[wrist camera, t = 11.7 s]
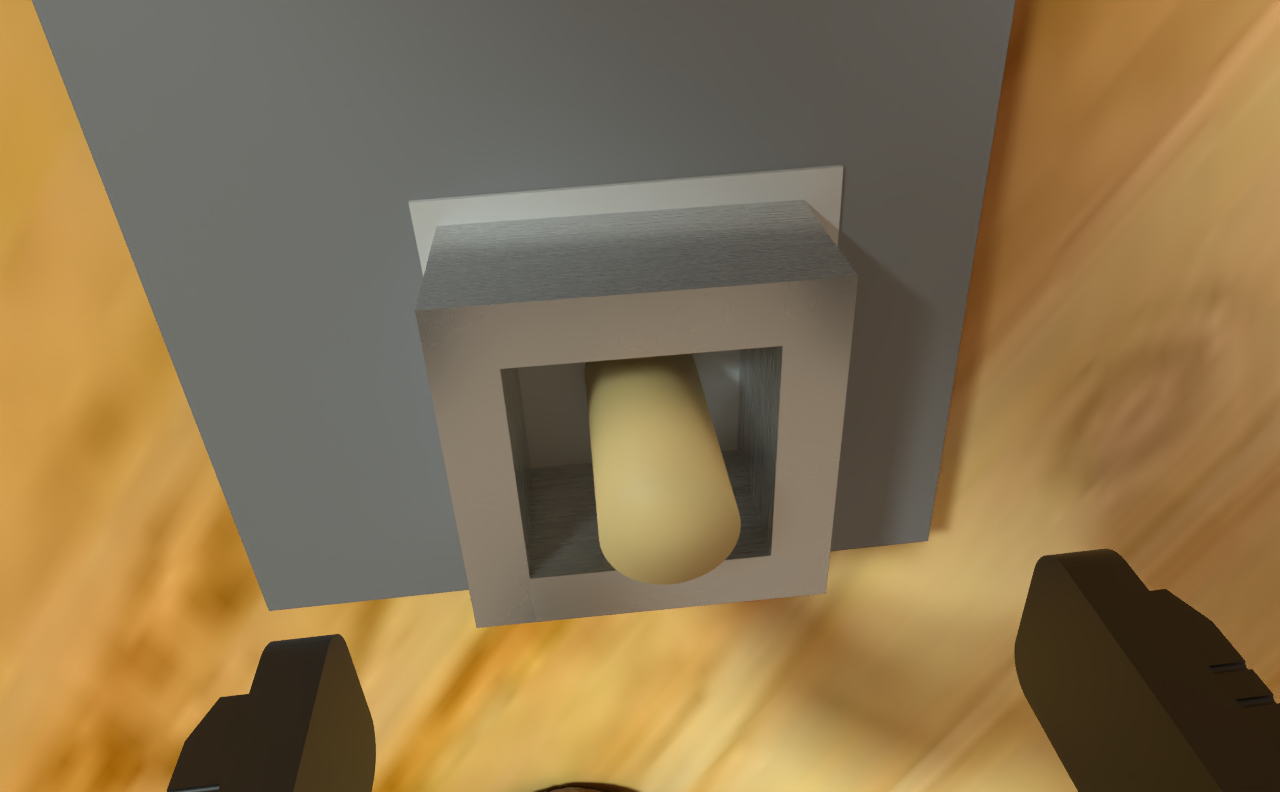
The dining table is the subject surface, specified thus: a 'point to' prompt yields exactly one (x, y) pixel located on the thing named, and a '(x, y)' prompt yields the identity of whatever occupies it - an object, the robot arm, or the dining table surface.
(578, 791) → the sauce bottle
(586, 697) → the dining table surface
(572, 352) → the grey square ring
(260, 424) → the keeper board
